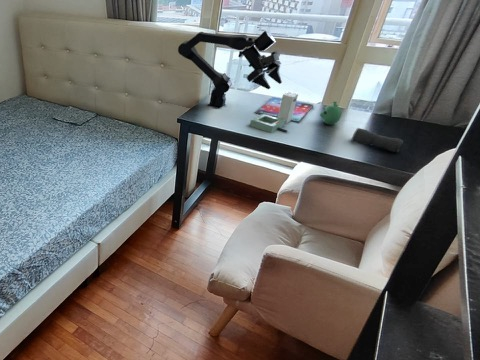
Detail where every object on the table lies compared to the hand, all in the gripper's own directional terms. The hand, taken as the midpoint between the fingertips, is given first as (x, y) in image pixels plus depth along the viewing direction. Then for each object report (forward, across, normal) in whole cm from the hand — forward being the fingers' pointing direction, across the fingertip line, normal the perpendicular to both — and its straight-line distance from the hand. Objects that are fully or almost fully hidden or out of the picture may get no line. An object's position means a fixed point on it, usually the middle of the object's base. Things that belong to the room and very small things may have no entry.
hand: (275, 85), depth 165 cm
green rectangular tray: (+15, -11, +6) cm, 19 cm away
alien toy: (+26, +11, -2) cm, 28 cm away
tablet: (+11, +13, +11) cm, 20 cm away
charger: (+15, 0, +6) cm, 16 cm away
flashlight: (+42, +2, -16) cm, 45 cm away
